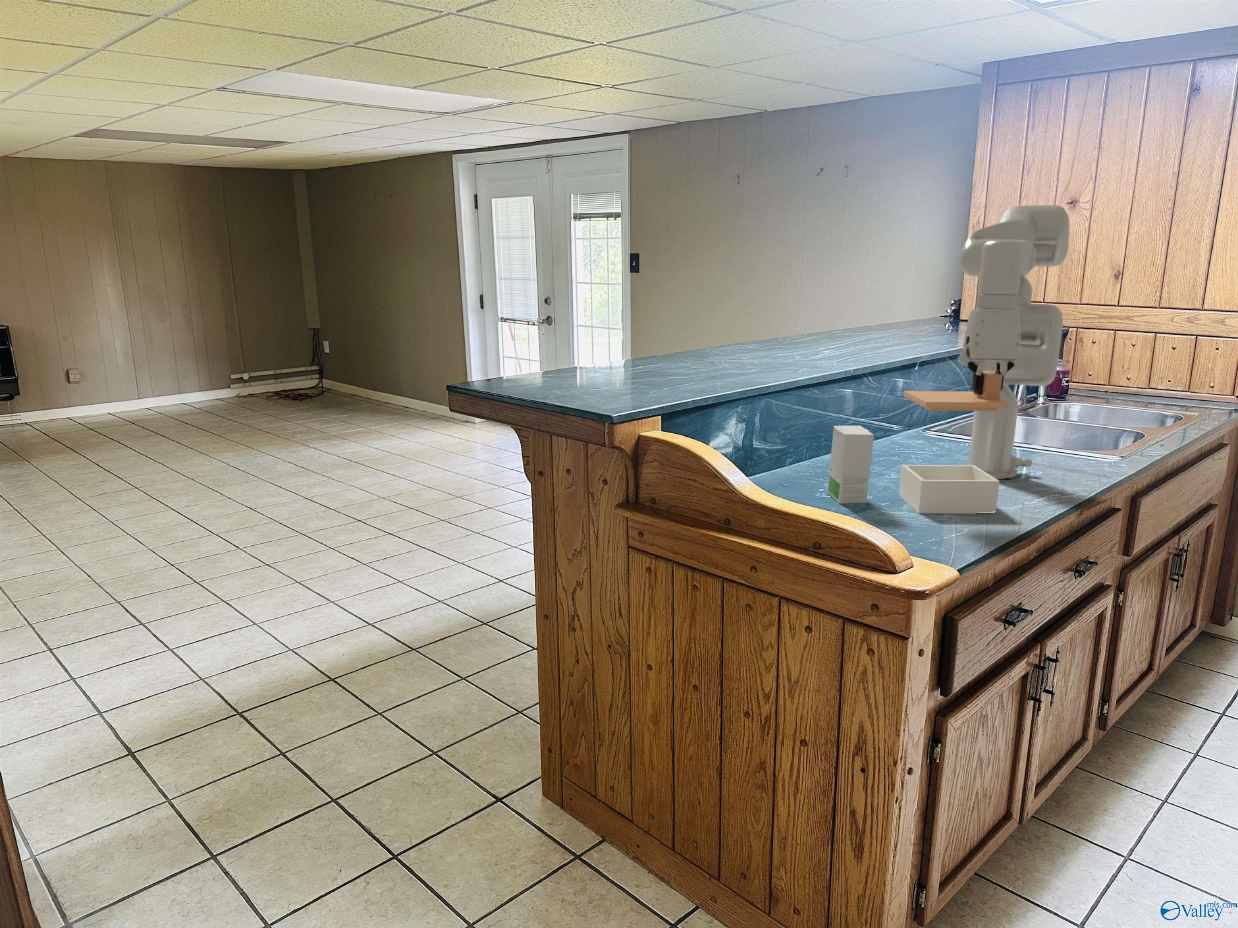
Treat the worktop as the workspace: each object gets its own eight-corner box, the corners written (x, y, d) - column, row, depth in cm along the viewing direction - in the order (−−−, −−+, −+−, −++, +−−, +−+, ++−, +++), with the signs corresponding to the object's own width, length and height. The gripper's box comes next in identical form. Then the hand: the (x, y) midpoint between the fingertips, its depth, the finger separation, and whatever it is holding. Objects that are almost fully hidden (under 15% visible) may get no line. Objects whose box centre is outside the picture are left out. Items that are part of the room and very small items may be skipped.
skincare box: (827, 493, 192) (831, 425, 188) (855, 492, 192) (860, 424, 188) (839, 504, 184) (844, 433, 180) (869, 503, 184) (875, 433, 180)
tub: (970, 495, 190) (974, 465, 189) (995, 513, 178) (999, 481, 176) (898, 495, 190) (901, 464, 189) (918, 513, 178) (921, 480, 176)
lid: (980, 400, 184) (983, 368, 182) (1008, 412, 171) (1012, 377, 169) (903, 400, 184) (906, 367, 182) (925, 411, 171) (928, 377, 169)
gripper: (1028, 302, 176) (1017, 391, 180) (949, 302, 176) (940, 390, 180) (1046, 305, 169) (1034, 397, 173) (963, 304, 169) (953, 396, 173)
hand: (986, 393), depth 177 cm, fingers closed on lid, 3 cm apart
